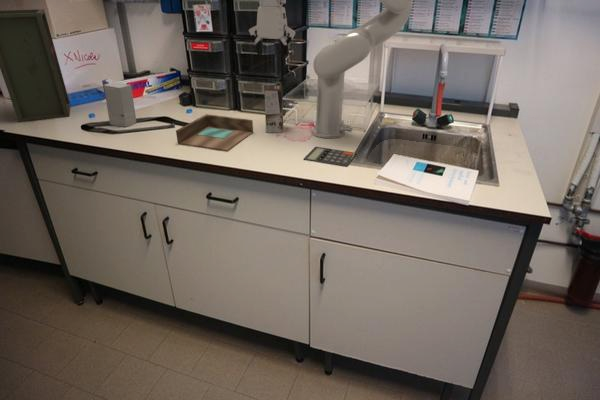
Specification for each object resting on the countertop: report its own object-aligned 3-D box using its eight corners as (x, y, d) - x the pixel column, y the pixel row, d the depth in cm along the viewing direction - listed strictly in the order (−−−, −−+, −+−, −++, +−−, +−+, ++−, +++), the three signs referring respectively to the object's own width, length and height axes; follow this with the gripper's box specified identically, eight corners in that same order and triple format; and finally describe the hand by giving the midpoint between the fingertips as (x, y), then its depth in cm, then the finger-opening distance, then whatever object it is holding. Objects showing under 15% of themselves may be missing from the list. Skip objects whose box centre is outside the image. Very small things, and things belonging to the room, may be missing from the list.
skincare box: (109, 125, 164) (100, 85, 156) (122, 119, 170) (114, 81, 162) (126, 127, 161) (117, 87, 153) (139, 122, 167) (131, 83, 159)
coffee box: (282, 133, 157) (281, 90, 149) (265, 132, 157) (263, 90, 149) (283, 125, 165) (283, 84, 157) (267, 124, 165) (266, 84, 157)
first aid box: (23, 110, 181) (-10, 10, 161) (70, 105, 188) (43, 9, 168) (18, 122, 166) (-19, 14, 147) (69, 116, 173) (40, 13, 154)
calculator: (347, 165, 130) (303, 158, 134) (347, 168, 130) (303, 160, 135) (357, 152, 139) (315, 145, 144) (356, 154, 139) (315, 148, 144)
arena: (253, 132, 157) (252, 120, 154) (227, 151, 140) (226, 137, 138) (207, 126, 163) (206, 114, 160) (177, 143, 146) (175, 130, 144)
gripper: (298, 2, 139) (298, 55, 148) (252, 1, 145) (255, 52, 153) (290, 4, 133) (290, 59, 142) (243, 2, 138) (245, 55, 147)
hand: (272, 55), depth 147 cm, fingers open, 9 cm apart
